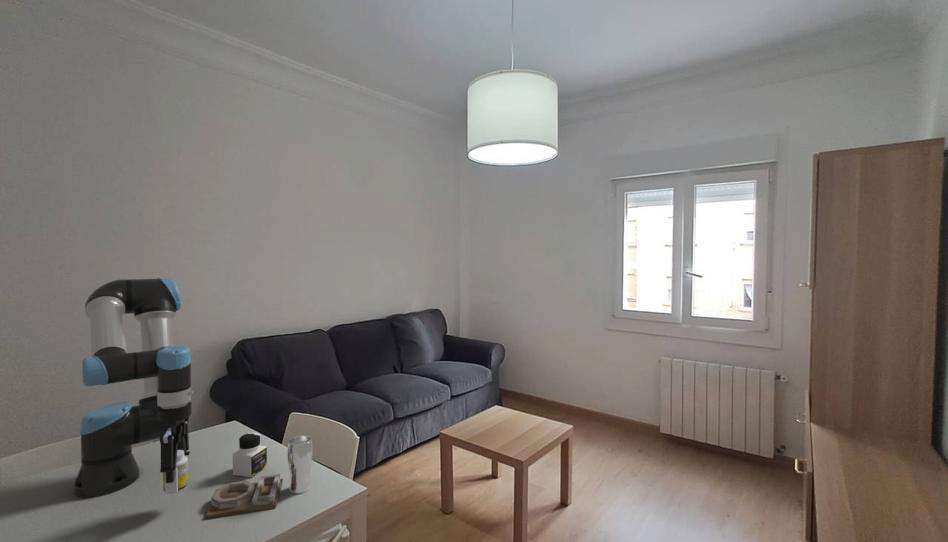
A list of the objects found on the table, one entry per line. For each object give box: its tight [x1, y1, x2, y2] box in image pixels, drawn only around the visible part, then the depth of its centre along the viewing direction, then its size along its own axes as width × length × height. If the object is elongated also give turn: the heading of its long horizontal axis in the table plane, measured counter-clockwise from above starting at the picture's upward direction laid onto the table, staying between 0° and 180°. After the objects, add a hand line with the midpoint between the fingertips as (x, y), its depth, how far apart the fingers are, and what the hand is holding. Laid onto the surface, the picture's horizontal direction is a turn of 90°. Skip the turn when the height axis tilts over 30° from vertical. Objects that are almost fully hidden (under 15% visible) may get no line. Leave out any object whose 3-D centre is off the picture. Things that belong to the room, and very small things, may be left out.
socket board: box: [205, 473, 284, 520], centre depth 120 cm, size 14×17×3 cm
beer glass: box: [287, 434, 313, 495], centre depth 126 cm, size 7×7×15 cm
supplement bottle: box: [162, 450, 189, 495], centre depth 115 cm, size 6×6×10 cm
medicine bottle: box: [232, 432, 268, 478], centre depth 136 cm, size 7×7×12 cm
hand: (175, 485), depth 115 cm, fingers closed on supplement bottle, 6 cm apart
